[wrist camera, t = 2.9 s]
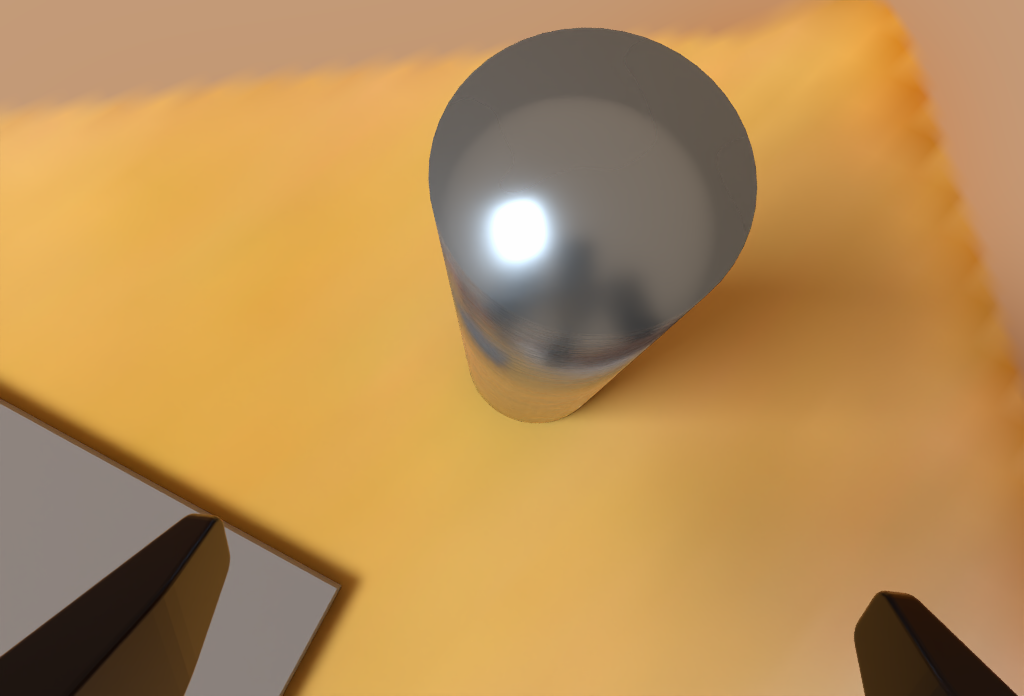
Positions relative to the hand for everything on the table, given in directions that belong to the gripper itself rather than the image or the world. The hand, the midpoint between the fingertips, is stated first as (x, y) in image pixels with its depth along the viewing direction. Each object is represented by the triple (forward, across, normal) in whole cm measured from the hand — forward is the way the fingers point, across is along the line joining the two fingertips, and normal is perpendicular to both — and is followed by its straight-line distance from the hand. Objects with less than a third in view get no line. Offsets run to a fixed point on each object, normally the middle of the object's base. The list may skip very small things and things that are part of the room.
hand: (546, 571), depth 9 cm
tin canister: (+12, 0, +5) cm, 13 cm away
